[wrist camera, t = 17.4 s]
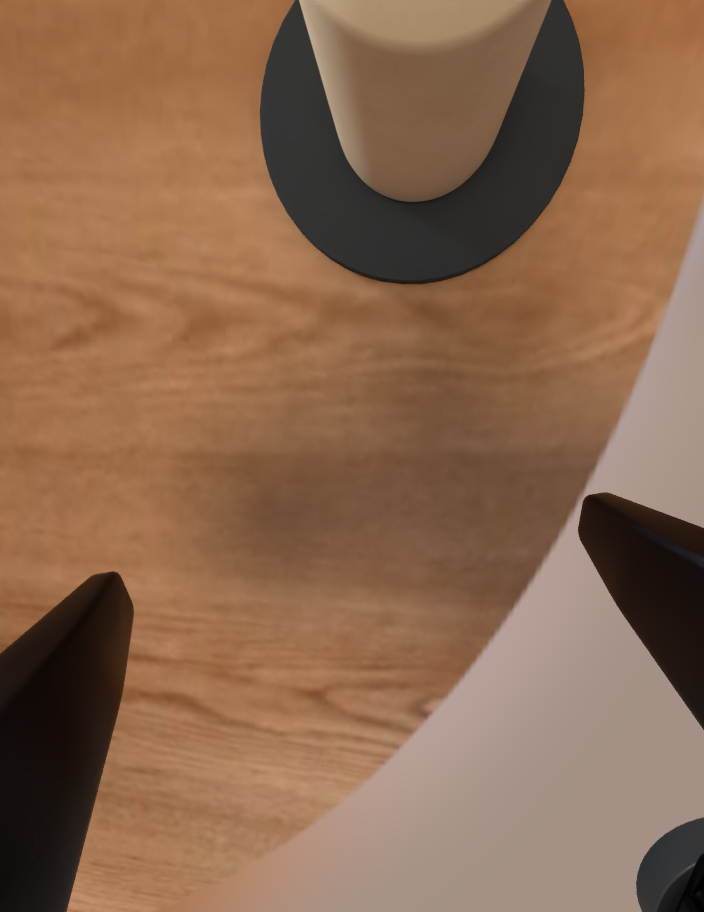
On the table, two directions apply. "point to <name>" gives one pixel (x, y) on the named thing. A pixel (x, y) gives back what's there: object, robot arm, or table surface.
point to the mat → (433, 221)
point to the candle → (420, 84)
